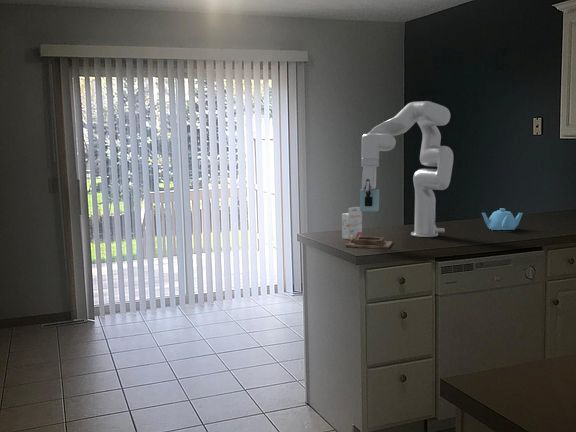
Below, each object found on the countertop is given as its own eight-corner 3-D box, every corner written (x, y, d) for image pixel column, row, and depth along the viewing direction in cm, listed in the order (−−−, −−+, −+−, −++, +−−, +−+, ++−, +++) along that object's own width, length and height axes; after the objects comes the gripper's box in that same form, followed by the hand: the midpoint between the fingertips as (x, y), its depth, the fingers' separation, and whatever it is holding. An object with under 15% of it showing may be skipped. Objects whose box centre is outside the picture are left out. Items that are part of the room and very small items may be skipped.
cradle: (392, 243, 281) (392, 234, 280) (388, 248, 267) (388, 239, 267) (351, 241, 286) (351, 233, 285) (345, 247, 272) (345, 237, 272)
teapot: (524, 230, 319) (525, 208, 317) (507, 233, 309) (508, 210, 308) (497, 226, 330) (497, 206, 329) (480, 229, 321) (480, 208, 320)
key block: (361, 209, 278) (361, 189, 276) (378, 210, 275) (379, 189, 274) (359, 210, 273) (360, 189, 272) (377, 211, 271) (377, 190, 270)
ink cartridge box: (355, 236, 301) (355, 205, 299) (362, 237, 297) (362, 206, 295) (341, 238, 296) (341, 206, 294) (348, 239, 292) (348, 207, 290)
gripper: (364, 162, 281) (364, 203, 283) (357, 163, 265) (357, 207, 267) (381, 162, 279) (380, 203, 281) (375, 163, 263) (375, 207, 265)
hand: (369, 205), depth 274 cm, fingers closed on key block, 4 cm apart
